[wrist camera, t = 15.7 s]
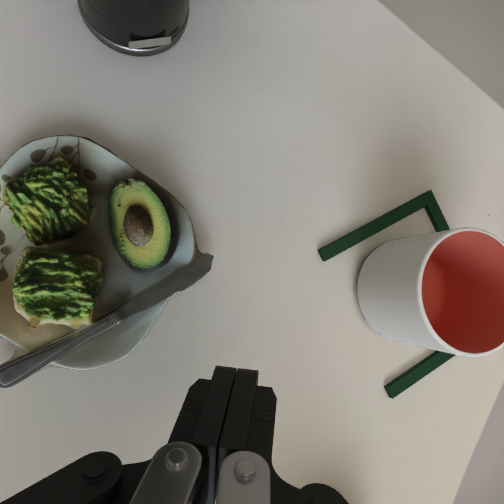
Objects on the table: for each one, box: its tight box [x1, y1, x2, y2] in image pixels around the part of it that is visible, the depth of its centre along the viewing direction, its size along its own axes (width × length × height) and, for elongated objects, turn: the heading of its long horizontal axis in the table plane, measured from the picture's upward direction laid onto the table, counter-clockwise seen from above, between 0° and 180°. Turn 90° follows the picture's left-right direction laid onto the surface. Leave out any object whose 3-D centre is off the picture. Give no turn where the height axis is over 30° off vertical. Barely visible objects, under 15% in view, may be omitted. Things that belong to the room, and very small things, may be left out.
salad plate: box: [0, 135, 214, 388], centre depth 32 cm, size 19×18×5 cm
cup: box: [357, 227, 504, 357], centre depth 37 cm, size 10×10×10 cm
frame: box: [318, 190, 455, 398], centre depth 41 cm, size 16×14×1 cm
